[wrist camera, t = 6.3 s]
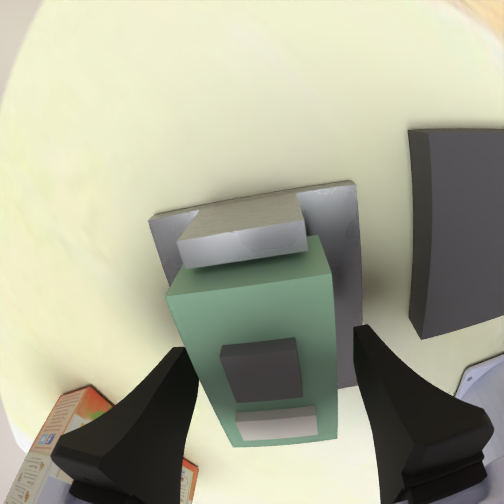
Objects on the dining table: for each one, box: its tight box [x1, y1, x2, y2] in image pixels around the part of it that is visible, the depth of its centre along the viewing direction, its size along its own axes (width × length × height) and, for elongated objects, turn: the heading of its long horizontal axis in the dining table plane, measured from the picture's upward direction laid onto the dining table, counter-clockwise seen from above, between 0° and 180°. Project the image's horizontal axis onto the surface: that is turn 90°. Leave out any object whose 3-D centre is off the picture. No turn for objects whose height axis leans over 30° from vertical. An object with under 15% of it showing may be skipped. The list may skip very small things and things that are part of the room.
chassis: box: [148, 181, 362, 389], centre depth 14 cm, size 12×9×4 cm
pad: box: [408, 129, 504, 340], centre depth 12 cm, size 10×7×2 cm
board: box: [165, 235, 338, 447], centre depth 12 cm, size 9×5×4 cm, turn 11°
